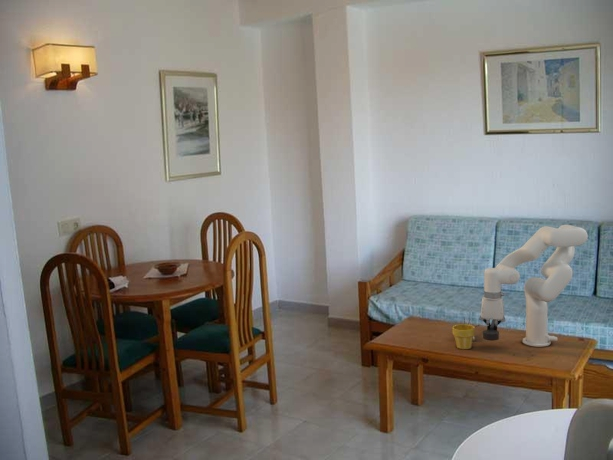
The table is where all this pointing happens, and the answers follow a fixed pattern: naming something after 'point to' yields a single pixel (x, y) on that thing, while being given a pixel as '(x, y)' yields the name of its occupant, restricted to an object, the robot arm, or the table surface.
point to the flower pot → (463, 335)
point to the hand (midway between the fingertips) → (492, 333)
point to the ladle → (491, 333)
